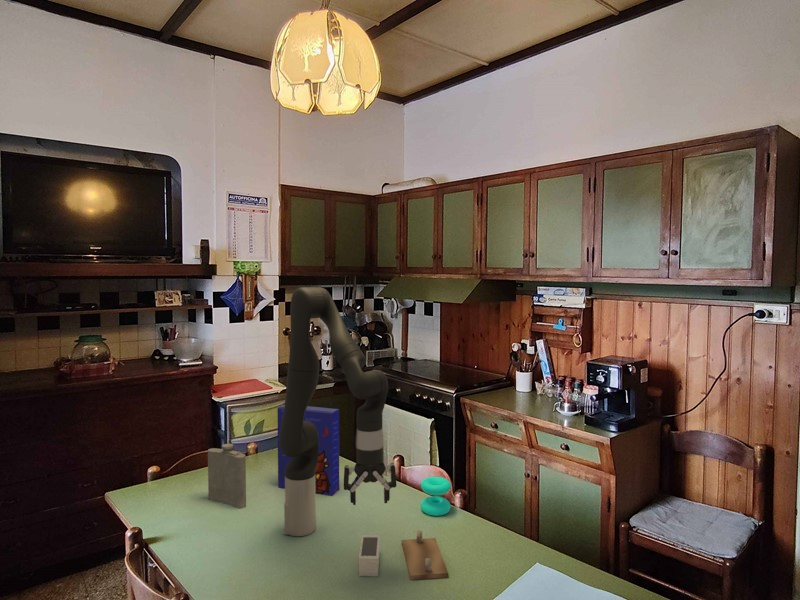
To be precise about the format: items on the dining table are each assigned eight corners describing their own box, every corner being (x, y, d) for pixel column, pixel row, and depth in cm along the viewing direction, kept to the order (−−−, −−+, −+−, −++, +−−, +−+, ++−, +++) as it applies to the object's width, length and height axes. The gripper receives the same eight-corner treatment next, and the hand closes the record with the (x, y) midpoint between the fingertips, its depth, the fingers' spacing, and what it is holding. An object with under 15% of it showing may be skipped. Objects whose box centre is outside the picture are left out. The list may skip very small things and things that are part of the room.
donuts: (430, 473, 182) (456, 479, 177) (429, 501, 183) (455, 508, 178) (415, 483, 174) (442, 489, 169) (415, 512, 174) (442, 520, 169)
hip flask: (206, 499, 183) (205, 443, 182) (215, 495, 187) (214, 439, 185) (241, 509, 176) (240, 450, 175) (249, 504, 180) (249, 446, 178)
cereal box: (339, 489, 192) (339, 408, 190) (332, 496, 186) (331, 412, 184) (286, 481, 199) (285, 403, 197) (278, 487, 193) (277, 407, 191)
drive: (358, 576, 138) (358, 557, 138) (362, 552, 150) (362, 534, 150) (377, 576, 138) (377, 557, 138) (379, 552, 150) (379, 534, 150)
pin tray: (410, 580, 137) (410, 564, 136) (401, 543, 155) (401, 529, 154) (448, 577, 138) (448, 561, 138) (435, 541, 156) (435, 528, 155)
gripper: (343, 450, 138) (344, 510, 139) (397, 448, 140) (397, 507, 140) (342, 441, 145) (343, 498, 146) (394, 439, 147) (394, 495, 148)
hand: (370, 503), depth 143 cm, fingers open, 8 cm apart
